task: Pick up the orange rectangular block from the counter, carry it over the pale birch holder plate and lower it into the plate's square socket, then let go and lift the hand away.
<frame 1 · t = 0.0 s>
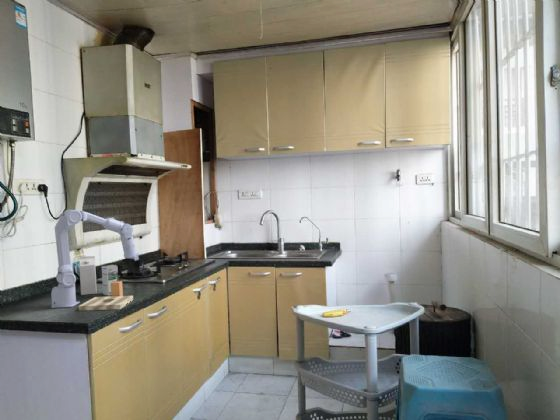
hand: (134, 272, 209), 11 cm above the countertop, tool pointing down, fingers open, 7 cm apart
orange rectangular block: (117, 298, 199), on the countertop
syrup box: (111, 294, 209), on the countertop
milk carton: (89, 293, 213), on the countertop
holder plate: (107, 305, 187), on the countertop
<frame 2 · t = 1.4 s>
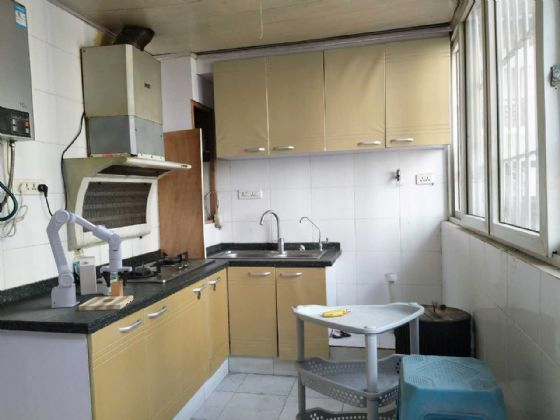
hand: (116, 286, 199), 6 cm above the countertop, tool pointing down, fingers open, 7 cm apart
nothing on the countertop moved.
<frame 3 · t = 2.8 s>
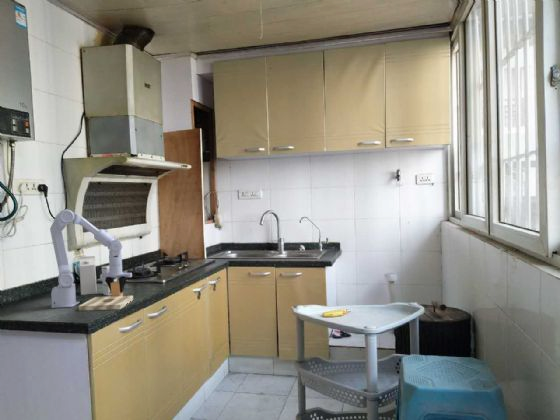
hand: (117, 292, 199), 3 cm above the countertop, tool pointing down, fingers closed on orange rectangular block, 4 cm apart
orange rectangular block: (117, 298, 199), on the countertop, touching gripper
everything else where it was.
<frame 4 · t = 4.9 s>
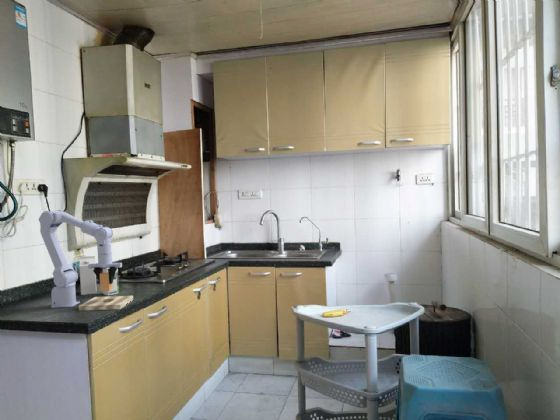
hand: (106, 283, 187), 10 cm above the countertop, tool pointing down, fingers closed on orange rectangular block, 4 cm apart
orange rectangular block: (106, 290, 187), point 7 cm above the countertop, touching gripper
everything else where it was.
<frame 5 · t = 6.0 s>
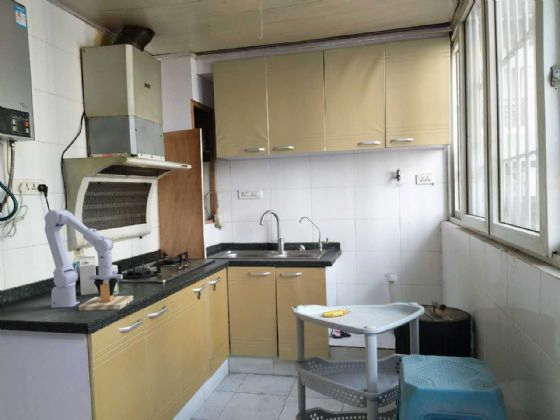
hand: (106, 295, 187), 4 cm above the countertop, tool pointing down, fingers closed on orange rectangular block, 4 cm apart
orange rectangular block: (107, 301, 187), point 1 cm above the countertop, touching gripper
everything else where it was.
when the fingers open (4 cm above the countertop, at t = 7.0 s): orange rectangular block stays where it is, resting in holder plate.
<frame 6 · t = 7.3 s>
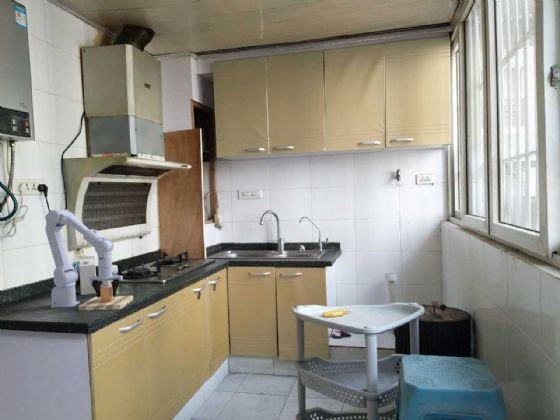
hand: (106, 296, 187), 4 cm above the countertop, tool pointing down, fingers open, 6 cm apart
orange rectangular block: (107, 304, 187), resting in holder plate
everything else where it was.
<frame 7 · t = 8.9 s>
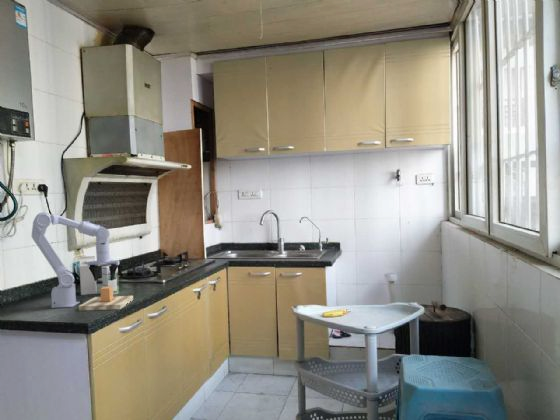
hand: (104, 280, 197), 9 cm above the countertop, tool pointing down, fingers open, 7 cm apart
nothing on the countertop moved.
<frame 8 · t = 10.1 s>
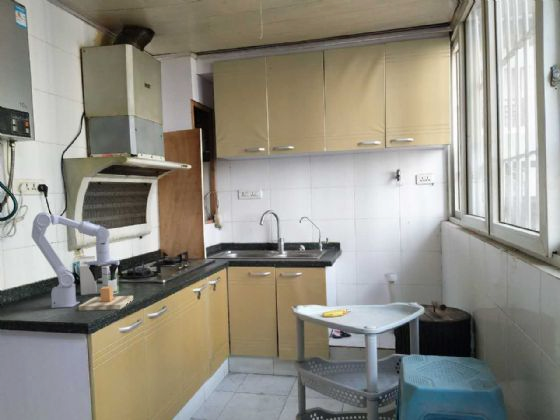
hand: (104, 280, 197), 9 cm above the countertop, tool pointing down, fingers open, 7 cm apart
nothing on the countertop moved.
at the end: orange rectangular block 0.3 cm off-centre on the holder plate, point 0.0 cm above the holder plate's base; orange rectangular block tilted 0°; the gripper is holding nothing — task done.
